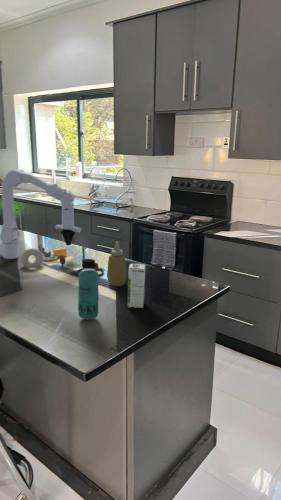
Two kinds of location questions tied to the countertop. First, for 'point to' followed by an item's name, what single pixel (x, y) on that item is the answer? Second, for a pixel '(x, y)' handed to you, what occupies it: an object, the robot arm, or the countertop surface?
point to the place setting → (62, 260)
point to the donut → (31, 252)
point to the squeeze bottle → (116, 267)
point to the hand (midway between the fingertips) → (68, 244)
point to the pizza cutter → (54, 254)
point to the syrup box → (136, 285)
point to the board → (57, 261)
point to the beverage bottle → (88, 290)
